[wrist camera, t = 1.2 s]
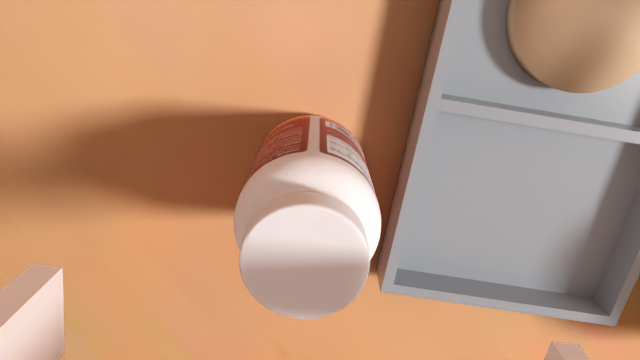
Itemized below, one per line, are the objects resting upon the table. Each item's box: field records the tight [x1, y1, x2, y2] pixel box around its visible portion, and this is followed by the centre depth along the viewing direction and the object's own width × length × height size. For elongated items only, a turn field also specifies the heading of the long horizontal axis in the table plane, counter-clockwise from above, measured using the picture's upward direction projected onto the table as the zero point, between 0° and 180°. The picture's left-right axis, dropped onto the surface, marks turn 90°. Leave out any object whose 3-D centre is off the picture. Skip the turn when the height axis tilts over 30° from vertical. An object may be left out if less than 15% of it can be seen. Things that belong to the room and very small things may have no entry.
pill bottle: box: [234, 115, 381, 319], centre depth 22 cm, size 6×6×11 cm
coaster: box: [505, 0, 640, 93], centre depth 23 cm, size 8×8×1 cm
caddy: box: [376, 0, 640, 327], centre depth 25 cm, size 14×22×2 cm, turn 171°
